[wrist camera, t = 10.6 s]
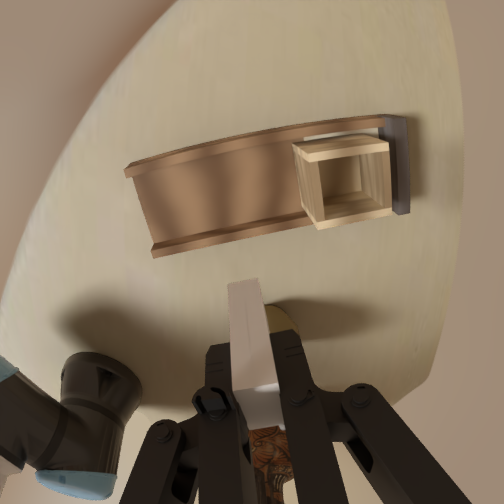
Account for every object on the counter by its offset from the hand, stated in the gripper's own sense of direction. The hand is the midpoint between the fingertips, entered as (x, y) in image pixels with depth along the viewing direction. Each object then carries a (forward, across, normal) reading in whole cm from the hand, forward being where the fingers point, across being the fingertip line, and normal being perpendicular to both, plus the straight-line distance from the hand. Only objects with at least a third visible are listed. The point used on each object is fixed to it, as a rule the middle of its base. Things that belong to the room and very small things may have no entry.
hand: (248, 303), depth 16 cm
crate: (+21, +11, 0) cm, 24 cm away
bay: (+22, +4, 0) cm, 23 cm away
